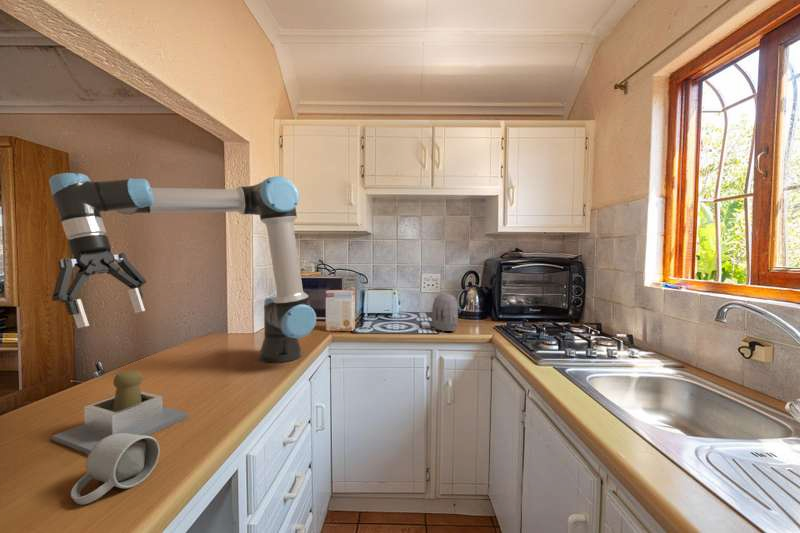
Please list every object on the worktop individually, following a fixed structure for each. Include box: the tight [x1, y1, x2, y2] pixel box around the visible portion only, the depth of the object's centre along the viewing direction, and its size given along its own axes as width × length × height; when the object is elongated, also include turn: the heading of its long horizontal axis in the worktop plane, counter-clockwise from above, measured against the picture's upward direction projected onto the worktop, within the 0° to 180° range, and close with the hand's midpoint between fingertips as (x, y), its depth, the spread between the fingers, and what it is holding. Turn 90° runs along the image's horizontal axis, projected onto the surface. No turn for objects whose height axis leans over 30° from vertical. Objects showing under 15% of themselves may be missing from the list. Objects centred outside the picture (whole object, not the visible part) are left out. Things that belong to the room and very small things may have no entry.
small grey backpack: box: [431, 292, 459, 332], centre depth 176 cm, size 15×8×20 cm, turn 44°
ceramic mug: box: [70, 433, 161, 505], centre depth 57 cm, size 11×8×8 cm
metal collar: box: [83, 390, 164, 437], centre depth 76 cm, size 10×10×5 cm
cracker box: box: [325, 289, 356, 332], centre depth 176 cm, size 14×6×21 cm, turn 82°
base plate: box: [52, 405, 189, 455], centre depth 76 cm, size 18×16×1 cm
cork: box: [112, 369, 143, 412], centre depth 78 cm, size 6×6×11 cm
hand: (113, 319), depth 87 cm, fingers open, 13 cm apart
